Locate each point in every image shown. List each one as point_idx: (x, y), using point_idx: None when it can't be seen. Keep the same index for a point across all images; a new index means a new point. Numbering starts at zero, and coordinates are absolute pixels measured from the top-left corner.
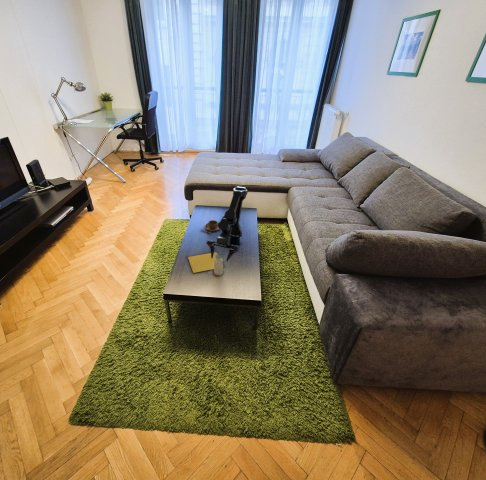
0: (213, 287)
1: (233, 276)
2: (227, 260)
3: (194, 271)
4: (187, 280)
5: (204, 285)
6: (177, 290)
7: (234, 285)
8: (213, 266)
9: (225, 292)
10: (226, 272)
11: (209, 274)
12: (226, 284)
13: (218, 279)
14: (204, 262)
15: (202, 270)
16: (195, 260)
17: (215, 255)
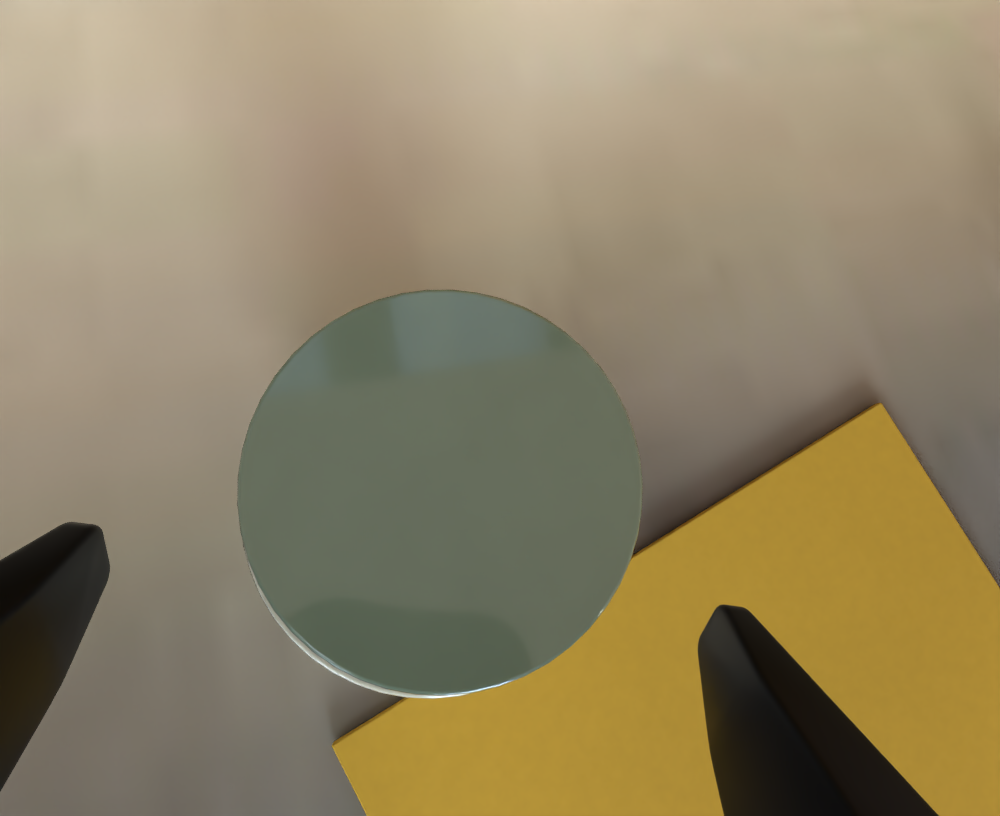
0: (435, 114)
1: (74, 464)
2: (26, 549)
3: (879, 441)
4: (893, 214)
5: (595, 140)
6: (935, 3)
7: (40, 208)
8: (571, 689)
9: (204, 27)
10: None
11: None
12: (207, 213)
13: None
14: None
15: (750, 502)
16: (995, 800)
17: (634, 487)
